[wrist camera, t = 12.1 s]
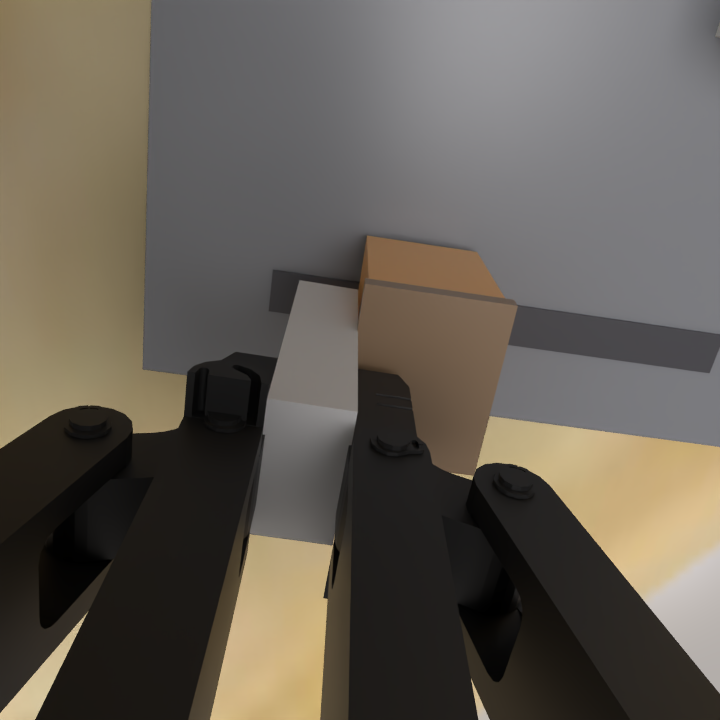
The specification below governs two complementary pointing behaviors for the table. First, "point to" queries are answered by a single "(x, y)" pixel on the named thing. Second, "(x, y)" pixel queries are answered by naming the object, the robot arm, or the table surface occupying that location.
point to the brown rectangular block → (436, 339)
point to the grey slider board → (450, 184)
